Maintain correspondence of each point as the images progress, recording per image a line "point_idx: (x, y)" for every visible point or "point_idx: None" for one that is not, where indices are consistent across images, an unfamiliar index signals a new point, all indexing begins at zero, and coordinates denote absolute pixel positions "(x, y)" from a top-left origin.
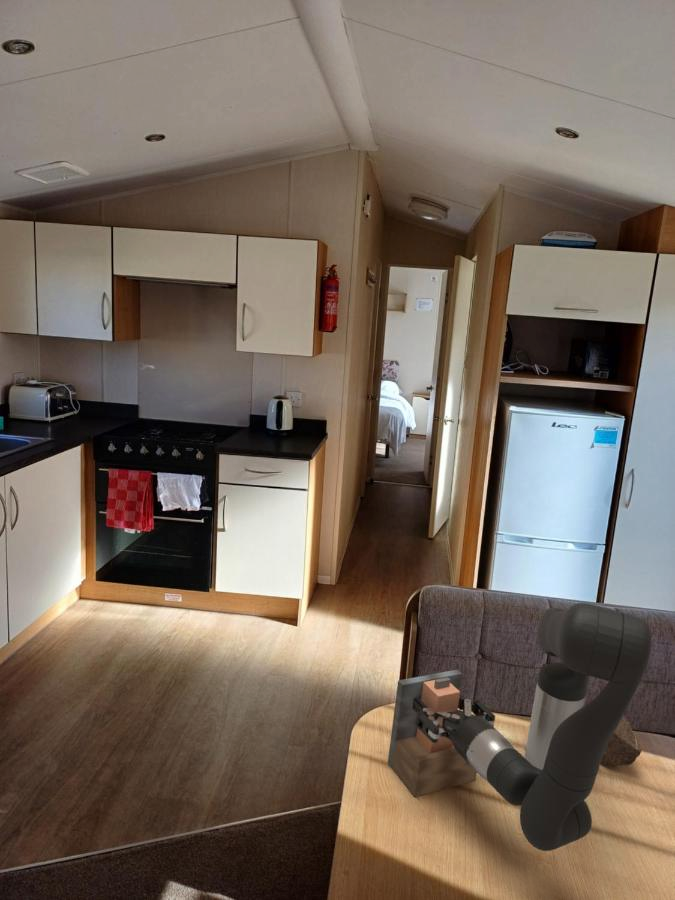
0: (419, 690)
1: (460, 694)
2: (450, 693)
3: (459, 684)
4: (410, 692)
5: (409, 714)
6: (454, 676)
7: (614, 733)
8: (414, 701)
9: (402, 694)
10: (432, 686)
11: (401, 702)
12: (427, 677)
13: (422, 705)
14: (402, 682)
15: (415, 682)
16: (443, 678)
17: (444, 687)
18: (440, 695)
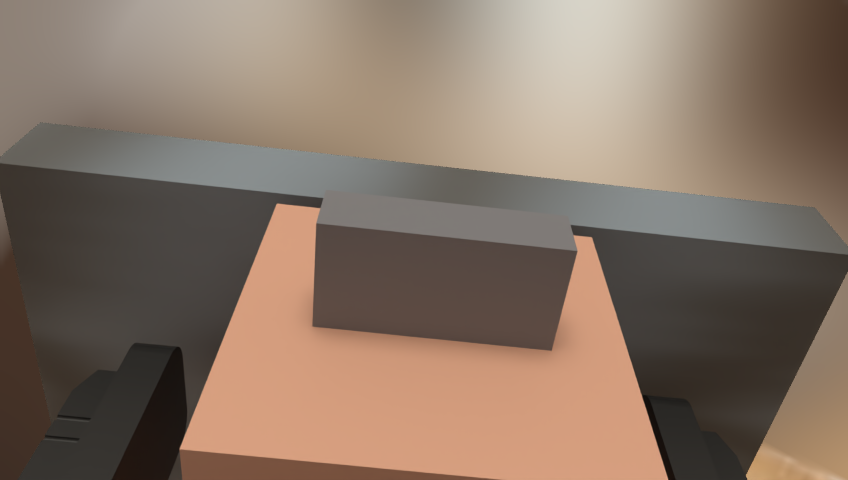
0: None
1: (741, 477)
2: (464, 465)
3: (783, 360)
4: (134, 276)
5: (180, 467)
6: (737, 259)
7: None
8: (100, 380)
9: (35, 270)
10: (310, 275)
11: (48, 345)
12: (388, 180)
13: (66, 469)
14: (44, 145)
15: (182, 182)
16: (482, 208)
17: (461, 337)
18: (242, 443)
